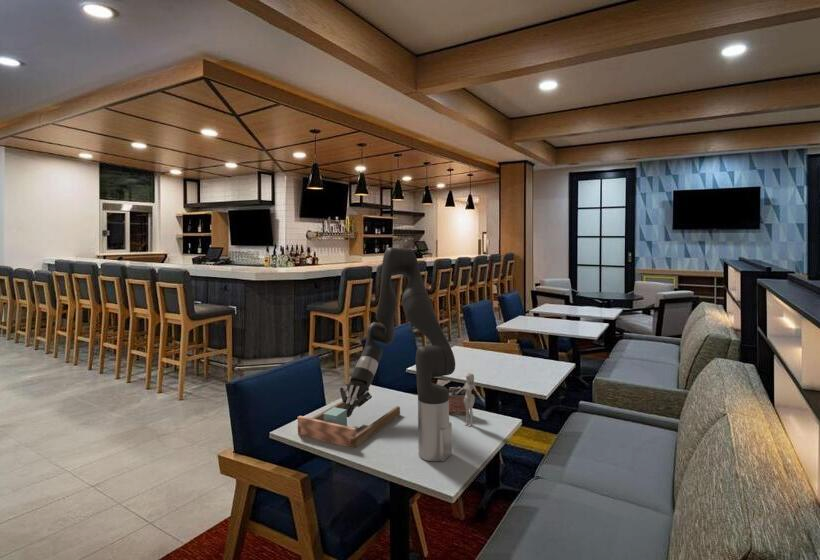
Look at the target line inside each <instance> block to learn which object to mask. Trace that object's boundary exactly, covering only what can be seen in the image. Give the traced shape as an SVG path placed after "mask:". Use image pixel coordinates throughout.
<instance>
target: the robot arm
mask: <svg viewBox="0 0 820 560" xmlns="http://www.w3.org/2000/svg"><path fill="white" fill-rule="evenodd" d="M419 265H420V264H419V262H418V259H417V255H416V253H415V251H414V250H413V249H411V248H407V247H406V248H403V247H388V248H387V249H385V251H384V254H383V257H382V265H381V276H380V290H379V291H380V292H379V298H378V303H377V308H376V311H375V312H376V313H375V319H376V321H377V322H376V321H373V322H372V323H369V325H368V327H367V332H366V339H365V345H364V348H363V350H362V353H361V355H360V358H359V359H358V360H357V362H356V365H355V367H354V369H353V372H352V374H351V376H350V380H349V382H348V384H347V385H346V386H345V387H340V388H339V392H340V395H341V400H342V401H343V402H344V403H345V404H346V405H345V408H344V409H347V418H350V417H351V415H353V412H354V409H355V408H356V407H358V408H360V407H361V406H363V405H364V404H366V402H368V401H369V400H371V399H372V398H373V395H372V394H371V393H370V391H369V390H370V387H371V384H372V382H373V380H374V377H375V375H376V374H377V369H378V366H379V362H380V361H381V358H382V355H383V348H381V347H380V346H379V345H377V344H376V343H379V344H382V345H385V346H388V345H390V344H392V343H393V342H394V339H395V335H396V334H395V332H396V331H395V316H396V312H397V308H398V298H397V296H396V292H395V291H394V288H393V285H392V276H393V275H405V276H406V277H407V279H408V283H407V286H406V288H405V290H404V291H403V294H402V297H401V305H402V308H403V312H404V315H405V318H406V319H407V321H408V322H409V323H410V324H411V325H412V326H413V327H414V328H415V329H416V330H417V331H419V332H420V333H421V334H423V335H424V336H425V337H426V338H427V339H428V341H429V342H430V344H431V345H422V346H421V345H420V346H419V347H418V348H417V349H416V352H415V370H416V389H417V390H416V391H417V424H418V425H417V426H418V428H417V432H418V433H417V434H418V435H417V437H418V440H417V443H418V444H417V445H418V447H417V449H418V456H419V457H420V459H422V460H423V461H424V460H425V461H429V462H446V460H447V459H448V457H450V456H451V454H452V453H453V451H452V450H453V449H452V448H453V445H452V444H453V443H452V440H453V439H452V438H453V437H452V435H453V434H452V432H453V429H452V425H453V424H452V422H450V415H449V393H450V391H449V388H447V387H446V386H444V385H441V384H437V383H433V382H432V378H437V377H445V376H446V377H447V376H450V375H452V374H453V373H454V372H455V370H456V360H455V353H454V352H453V349H452V347H451V345H450V343H449V341H448V339H447V337H446V334H445V333H444V331H443V328H442V327H441V325H440V323H439V320H438V317H437V315H436V311H435V309H434V306H433V303H432V301H431V298H430V296H429V293H428V291H427V289H426V286H425V283H424V280H423V277H422V273H421V270H420V266H419ZM375 342H376V343H375Z"/></svg>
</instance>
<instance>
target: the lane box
mask: <svg viewBox="0 0 820 560" xmlns="http://www.w3.org/2000/svg"><path fill="white" fill-rule="evenodd" d="M345 405H346V404H345V403H344V402H343V401H340V402H338V403H336V404H334V405H332V406H331V407H329V408H327V409H325V410H323V411H322V412H320V413H317V415H314V416H312V417H309V416H308V417H307V416H303V415H299V416H297V435H298V436H303V437H307V438H310V439H315V440H318V441H324V442H328V443H330V444H331V443H332V444H335V445H339V446H344V447H348V448H351V449H355V448H356V447H358V446H359V445H361V444H362V443H364V442H365V441H366V440H367V439H369V438H370V437H371V436H373V435H374V434H376V433H377V432H379V431H380V430H382V428H384V427H385V426H387V425H388V424H390V423H391V422H392V421H393V420H394V419H396V418H397V417H398V416H400V415H401V407H400V406H398V405H397V406H395V407H394V408H392V409H391V410H389V411H388V412H385V414H383V415H381V416H380V417H379V418H378V419H376V420H375V421H374V422H372V423H370V424H369V425H368V427H366V428H365V429H363V430H362V431H360V432H359V433H357V434H356V429H357V428H356V427H352V426H348V425H347V426H344V425H339V424H335V423H330V422H326V421H324V413H325V412H327V411H329V410H330V409H332V408H334V407H336V408H341V409H344V408H345Z"/></svg>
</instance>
